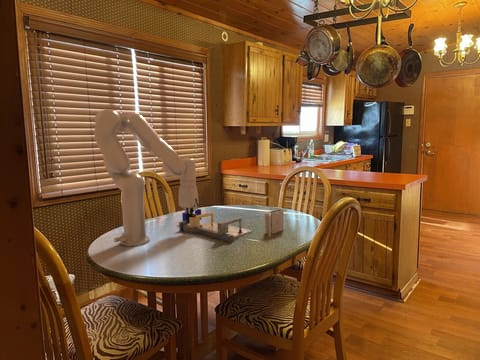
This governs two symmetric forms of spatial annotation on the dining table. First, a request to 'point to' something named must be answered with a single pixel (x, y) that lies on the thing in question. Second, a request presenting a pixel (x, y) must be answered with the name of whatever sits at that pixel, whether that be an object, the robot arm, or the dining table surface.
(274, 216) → the hinge
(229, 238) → the rail
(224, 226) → the fixed leg
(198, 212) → the cable clip
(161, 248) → the dining table surface
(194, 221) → the sliding leg
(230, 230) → the bolt plate
